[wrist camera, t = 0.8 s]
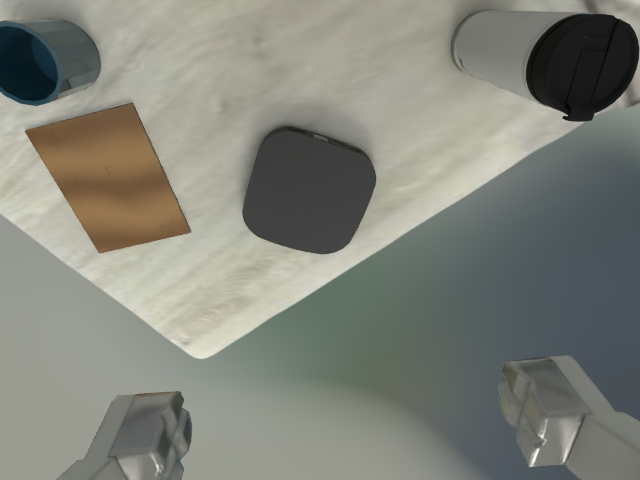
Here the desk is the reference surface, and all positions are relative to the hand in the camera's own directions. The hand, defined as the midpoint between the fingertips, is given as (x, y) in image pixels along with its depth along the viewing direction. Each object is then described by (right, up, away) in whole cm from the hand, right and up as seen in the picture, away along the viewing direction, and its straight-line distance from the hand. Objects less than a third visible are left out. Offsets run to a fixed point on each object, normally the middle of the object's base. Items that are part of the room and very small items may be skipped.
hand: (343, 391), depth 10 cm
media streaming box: (-2, +10, +41) cm, 42 cm away
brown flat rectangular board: (-26, +11, +39) cm, 48 cm away
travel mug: (+17, +25, +33) cm, 45 cm away
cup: (-27, +23, +32) cm, 48 cm away
